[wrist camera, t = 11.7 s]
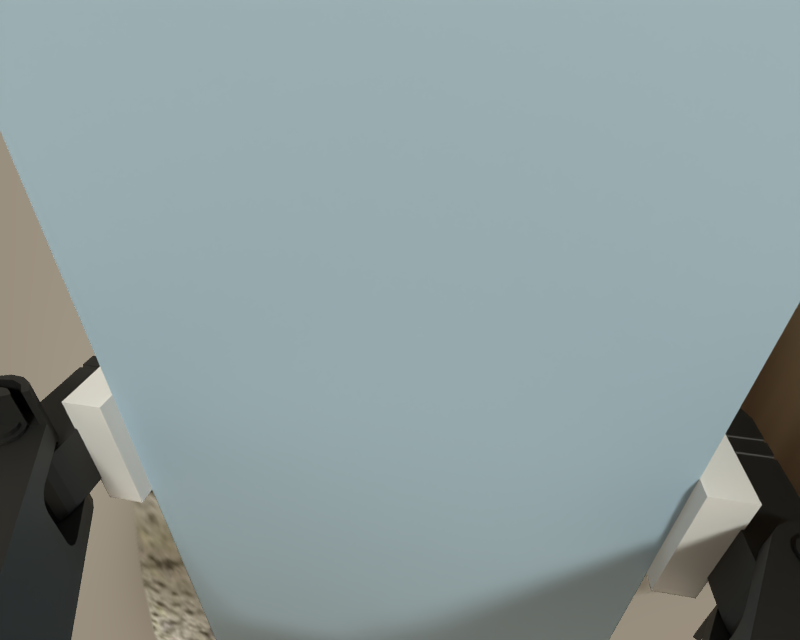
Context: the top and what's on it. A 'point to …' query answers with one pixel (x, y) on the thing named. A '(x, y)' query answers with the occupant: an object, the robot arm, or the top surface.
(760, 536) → the robot arm
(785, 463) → the box
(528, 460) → the light blue block
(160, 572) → the top surface
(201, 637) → the top surface
